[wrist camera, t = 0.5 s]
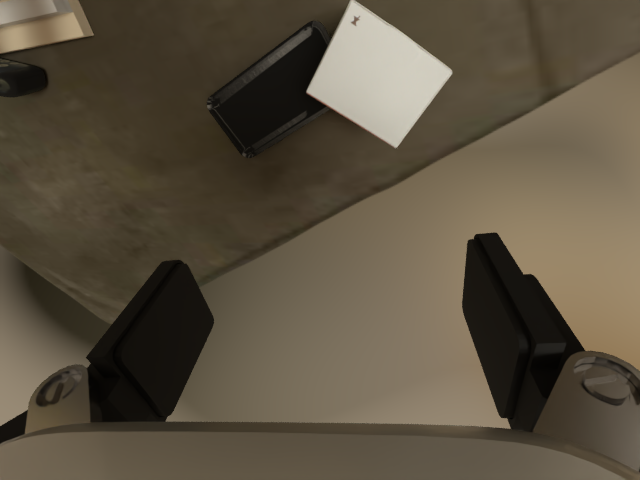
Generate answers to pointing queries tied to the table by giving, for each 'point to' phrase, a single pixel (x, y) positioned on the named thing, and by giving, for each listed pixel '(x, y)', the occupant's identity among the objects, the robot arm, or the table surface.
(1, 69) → the mobile phone
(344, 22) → the small box
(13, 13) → the rail board
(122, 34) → the table surface
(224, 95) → the phone
